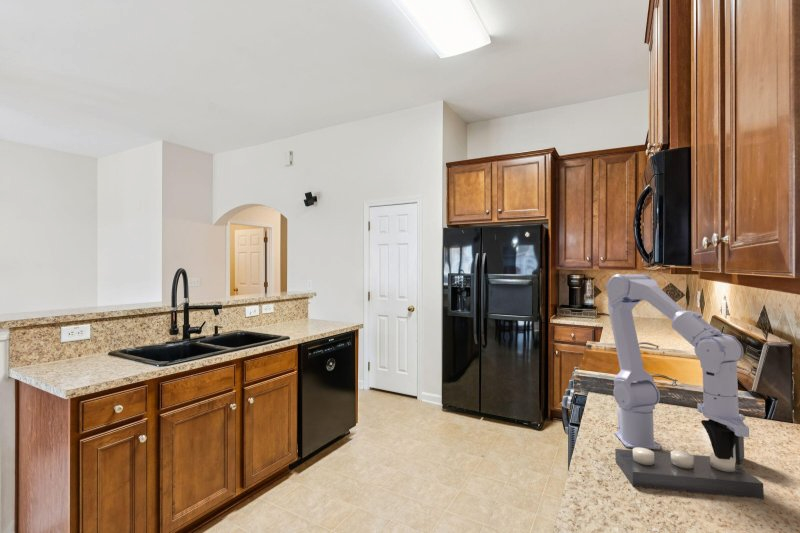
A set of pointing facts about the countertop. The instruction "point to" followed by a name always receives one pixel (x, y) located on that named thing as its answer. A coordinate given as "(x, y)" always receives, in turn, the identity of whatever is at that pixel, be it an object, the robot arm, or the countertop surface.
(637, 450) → the knob
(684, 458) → the knob mid
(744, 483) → the mount plate
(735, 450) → the battery charger
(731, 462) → the knob
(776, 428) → the countertop surface
